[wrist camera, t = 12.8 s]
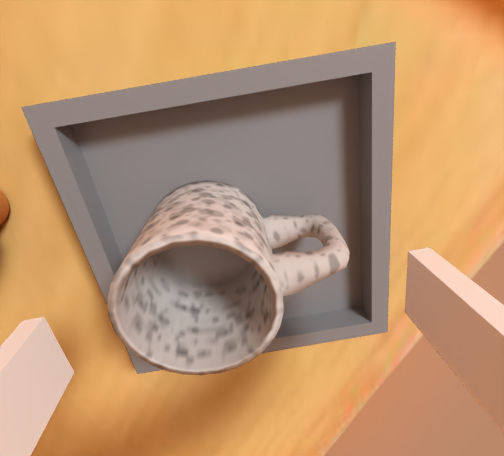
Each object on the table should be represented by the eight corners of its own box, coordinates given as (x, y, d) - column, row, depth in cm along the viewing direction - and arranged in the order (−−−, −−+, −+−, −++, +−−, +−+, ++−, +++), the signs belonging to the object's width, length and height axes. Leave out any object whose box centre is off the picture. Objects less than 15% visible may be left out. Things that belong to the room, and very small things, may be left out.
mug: (171, 295, 20) (144, 388, 14) (131, 196, 17) (76, 257, 11) (329, 260, 19) (374, 340, 13) (314, 153, 17) (363, 192, 10)
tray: (145, 347, 22) (137, 373, 20) (48, 104, 15) (21, 107, 13) (373, 309, 22) (387, 332, 20) (373, 47, 15) (395, 41, 13)
